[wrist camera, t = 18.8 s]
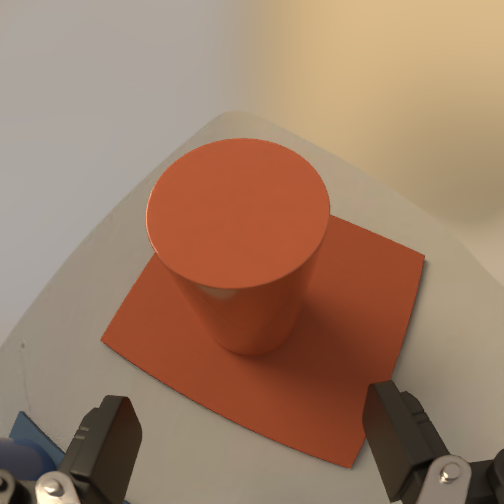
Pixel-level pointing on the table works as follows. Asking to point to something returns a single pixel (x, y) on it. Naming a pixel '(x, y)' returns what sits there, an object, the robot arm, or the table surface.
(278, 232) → the terracotta canister
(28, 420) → the blue mat
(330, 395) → the terracotta mat
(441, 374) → the table surface
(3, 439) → the blue canister
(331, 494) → the table surface
